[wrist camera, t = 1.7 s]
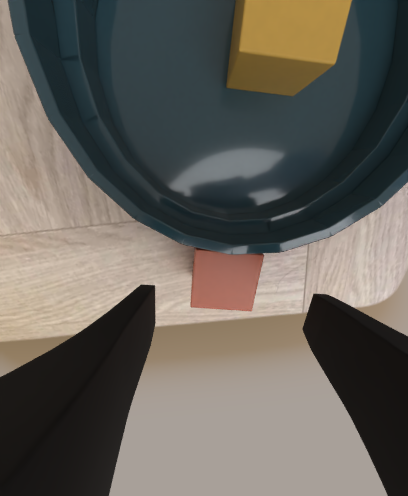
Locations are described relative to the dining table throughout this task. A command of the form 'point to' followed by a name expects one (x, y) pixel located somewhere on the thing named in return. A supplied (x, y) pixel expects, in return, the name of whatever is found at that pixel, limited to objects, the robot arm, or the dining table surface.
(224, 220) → the bowl
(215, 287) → the terracotta block
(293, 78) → the mustard block
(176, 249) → the dining table surface
